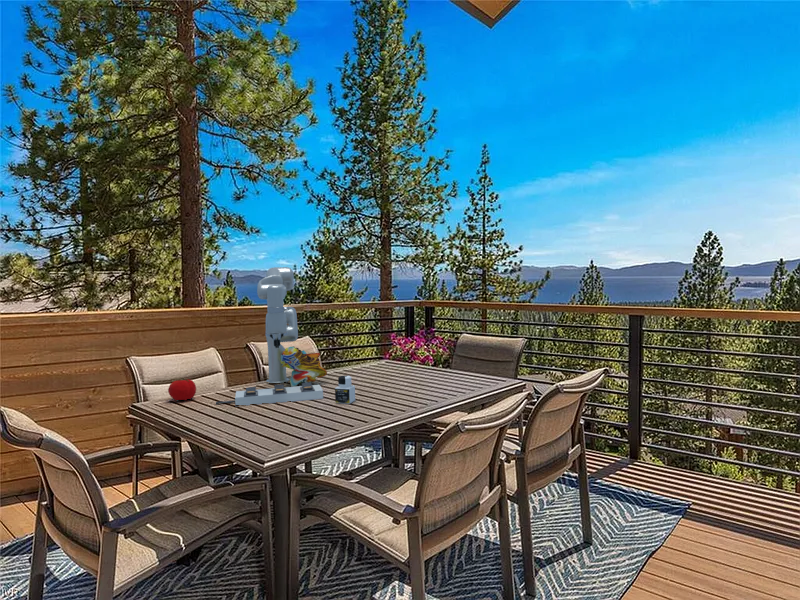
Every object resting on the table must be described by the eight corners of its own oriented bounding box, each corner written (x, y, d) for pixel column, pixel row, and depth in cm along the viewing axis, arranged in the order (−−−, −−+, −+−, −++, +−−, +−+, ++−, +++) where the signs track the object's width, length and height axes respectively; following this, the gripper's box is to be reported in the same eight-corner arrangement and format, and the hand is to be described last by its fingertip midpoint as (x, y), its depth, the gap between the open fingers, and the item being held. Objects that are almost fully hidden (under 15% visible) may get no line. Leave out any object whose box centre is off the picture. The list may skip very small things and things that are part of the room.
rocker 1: (246, 390, 247) (246, 387, 247) (255, 389, 248) (255, 386, 248) (246, 396, 241) (245, 393, 240) (255, 395, 242) (255, 392, 242)
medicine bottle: (335, 403, 240) (334, 377, 239) (341, 399, 246) (340, 374, 246) (349, 404, 237) (348, 377, 237) (355, 400, 244) (354, 374, 244)
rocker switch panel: (216, 401, 250) (216, 391, 249) (319, 392, 263) (319, 383, 262) (214, 408, 236) (213, 398, 236) (323, 398, 249) (322, 389, 249)
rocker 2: (301, 385, 254) (301, 383, 254) (311, 385, 255) (310, 382, 255) (303, 391, 248) (303, 388, 247) (312, 390, 249) (312, 387, 248)
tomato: (190, 403, 247) (189, 380, 247) (164, 403, 247) (163, 381, 247) (201, 396, 261) (200, 375, 260) (176, 397, 261) (175, 376, 260)
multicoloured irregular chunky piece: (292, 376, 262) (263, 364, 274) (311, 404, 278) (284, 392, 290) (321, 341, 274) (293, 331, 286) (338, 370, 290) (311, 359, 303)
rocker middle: (274, 387, 251) (274, 384, 250) (283, 387, 252) (283, 384, 252) (275, 393, 244) (274, 390, 244) (284, 393, 245) (284, 390, 245)
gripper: (290, 309, 262) (291, 345, 264) (259, 310, 258) (261, 347, 260) (291, 310, 255) (293, 347, 256) (260, 312, 251) (261, 349, 252)
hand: (277, 347), depth 258 cm, fingers closed
